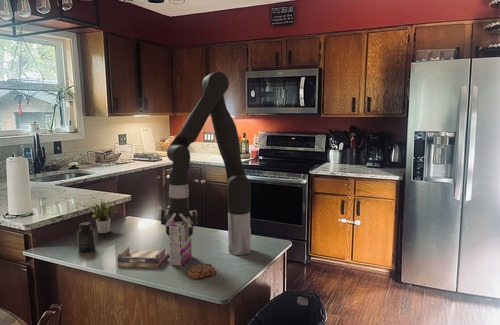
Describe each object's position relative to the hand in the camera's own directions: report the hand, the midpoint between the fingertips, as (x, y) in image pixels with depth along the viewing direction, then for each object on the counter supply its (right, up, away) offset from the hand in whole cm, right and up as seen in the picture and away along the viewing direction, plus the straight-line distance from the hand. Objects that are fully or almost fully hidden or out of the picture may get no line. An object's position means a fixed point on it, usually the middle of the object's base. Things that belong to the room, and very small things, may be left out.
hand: (179, 235), depth 151 cm
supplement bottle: (-42, -9, +14) cm, 46 cm away
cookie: (+10, -12, -11) cm, 20 cm away
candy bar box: (0, -11, +1) cm, 11 cm away
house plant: (-45, -6, +38) cm, 59 cm away
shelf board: (-15, -10, +2) cm, 18 cm away
